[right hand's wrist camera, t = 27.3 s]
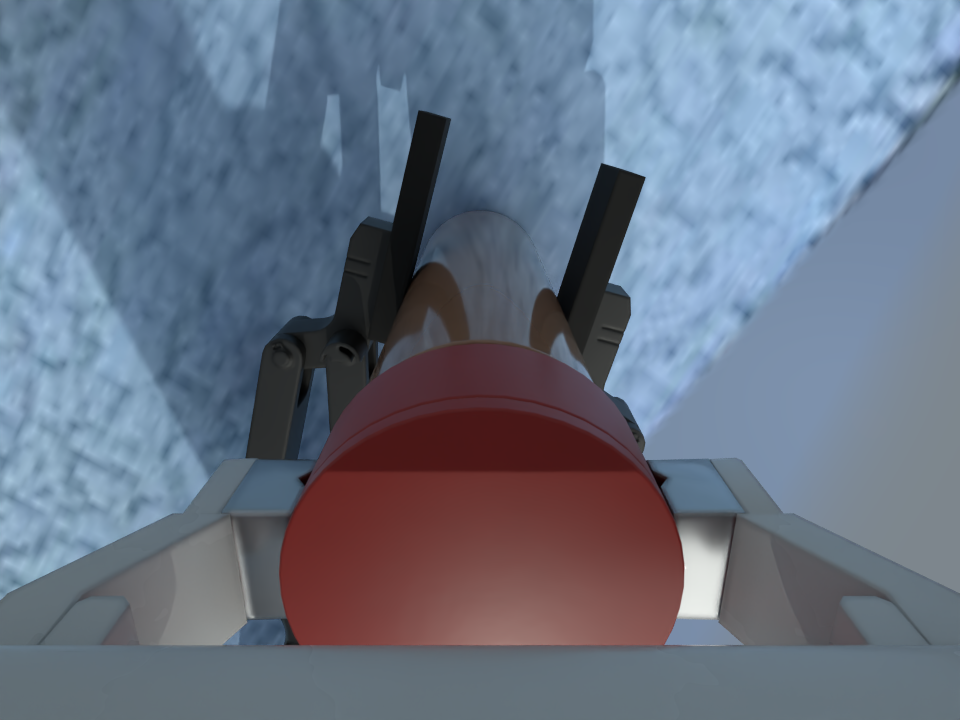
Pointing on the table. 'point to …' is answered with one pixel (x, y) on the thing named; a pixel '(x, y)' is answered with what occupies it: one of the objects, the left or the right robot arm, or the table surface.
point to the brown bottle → (480, 295)
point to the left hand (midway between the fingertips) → (529, 144)
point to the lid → (481, 513)
